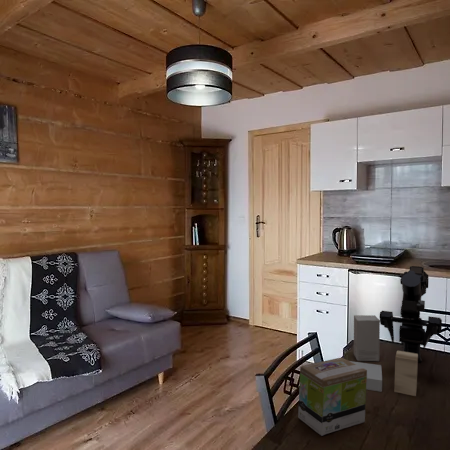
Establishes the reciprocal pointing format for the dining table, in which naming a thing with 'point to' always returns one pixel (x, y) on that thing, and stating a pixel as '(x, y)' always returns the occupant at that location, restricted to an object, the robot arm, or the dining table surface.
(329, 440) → the dining table surface
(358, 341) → the skincare box
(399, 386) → the birch block
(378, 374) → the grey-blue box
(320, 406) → the tea box
